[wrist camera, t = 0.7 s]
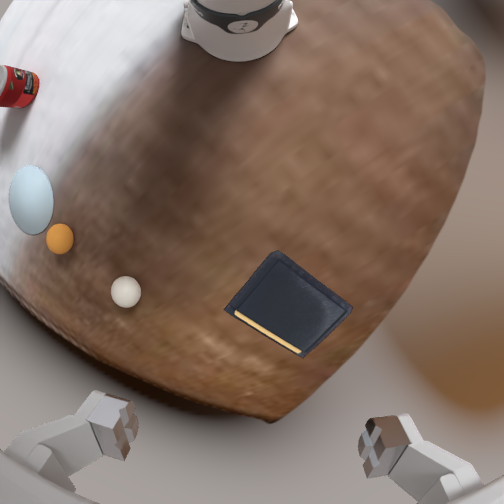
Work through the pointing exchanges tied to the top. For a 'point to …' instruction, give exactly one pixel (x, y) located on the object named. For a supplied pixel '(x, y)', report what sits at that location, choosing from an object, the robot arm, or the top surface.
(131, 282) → the white ping pong ball
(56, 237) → the orange ball
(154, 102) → the top surface
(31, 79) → the canned food
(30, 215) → the light blue disc
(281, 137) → the top surface
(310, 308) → the wallet
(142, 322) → the top surface
